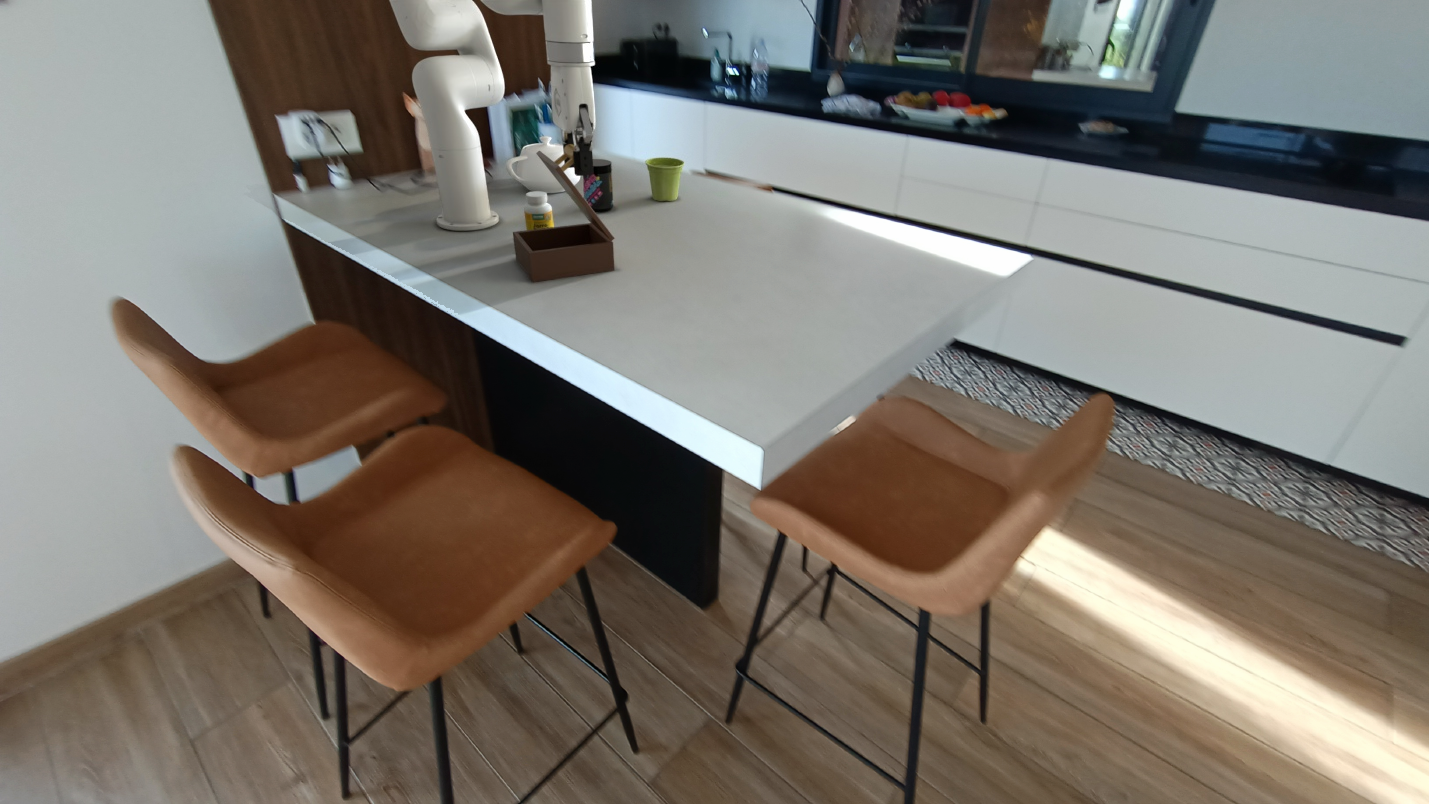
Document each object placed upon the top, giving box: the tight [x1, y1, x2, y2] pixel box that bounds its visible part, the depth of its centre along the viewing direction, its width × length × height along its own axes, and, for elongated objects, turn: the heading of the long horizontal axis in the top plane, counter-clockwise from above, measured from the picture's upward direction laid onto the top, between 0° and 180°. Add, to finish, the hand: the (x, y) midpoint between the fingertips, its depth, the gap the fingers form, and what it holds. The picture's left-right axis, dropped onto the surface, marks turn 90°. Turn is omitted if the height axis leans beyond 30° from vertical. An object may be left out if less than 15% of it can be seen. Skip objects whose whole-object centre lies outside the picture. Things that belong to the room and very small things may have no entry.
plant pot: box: [644, 157, 685, 202], centre depth 160 cm, size 9×9×9 cm
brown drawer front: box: [536, 144, 616, 242], centre depth 117 cm, size 16×12×6 cm
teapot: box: [505, 135, 581, 194], centre depth 163 cm, size 25×16×12 cm, turn 139°
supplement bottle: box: [523, 191, 555, 230], centre depth 130 cm, size 5×5×10 cm
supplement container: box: [581, 158, 614, 214], centre depth 150 cm, size 7×7×10 cm
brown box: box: [512, 222, 615, 283], centre depth 121 cm, size 15×12×5 cm
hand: (578, 169), depth 115 cm, fingers closed on brown drawer front, 5 cm apart
